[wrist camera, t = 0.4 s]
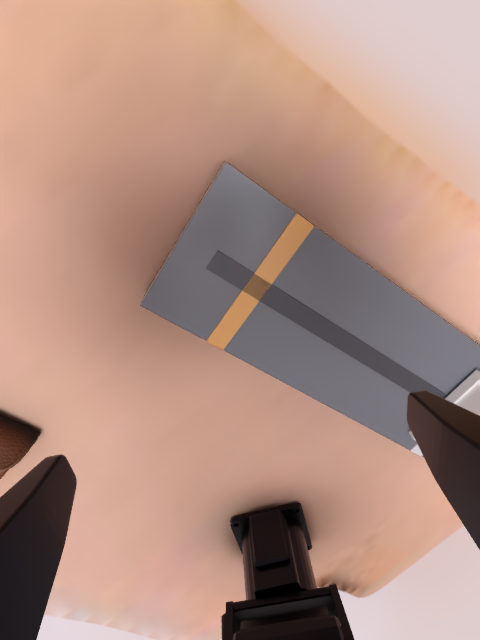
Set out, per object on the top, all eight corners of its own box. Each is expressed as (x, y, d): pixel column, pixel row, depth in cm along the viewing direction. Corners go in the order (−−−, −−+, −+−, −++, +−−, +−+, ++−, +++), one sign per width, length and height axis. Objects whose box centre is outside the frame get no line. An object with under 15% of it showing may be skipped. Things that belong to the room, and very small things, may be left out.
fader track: (529, 381, 27) (553, 399, 26) (442, 456, 30) (458, 476, 29) (224, 160, 19) (225, 162, 17) (145, 292, 22) (139, 306, 20)
